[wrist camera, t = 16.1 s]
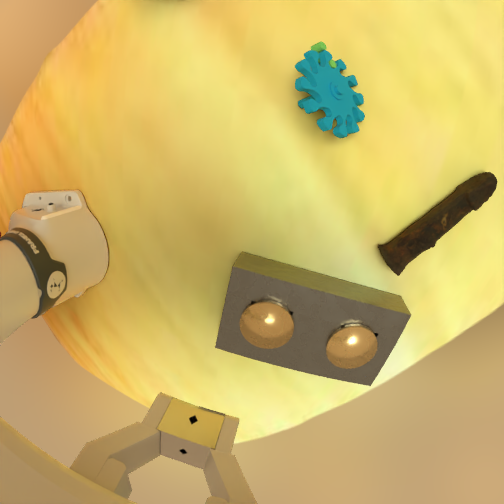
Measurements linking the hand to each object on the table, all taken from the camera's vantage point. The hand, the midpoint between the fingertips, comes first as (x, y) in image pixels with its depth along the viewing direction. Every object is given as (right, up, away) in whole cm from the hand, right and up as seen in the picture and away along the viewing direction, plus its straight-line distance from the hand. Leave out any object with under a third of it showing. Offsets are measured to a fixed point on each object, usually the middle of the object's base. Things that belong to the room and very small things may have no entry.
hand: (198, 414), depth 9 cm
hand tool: (+25, +11, +22) cm, 35 cm away
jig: (+10, -2, +29) cm, 31 cm away
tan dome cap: (+15, -4, +28) cm, 32 cm away
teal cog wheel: (+11, +24, +20) cm, 33 cm away
